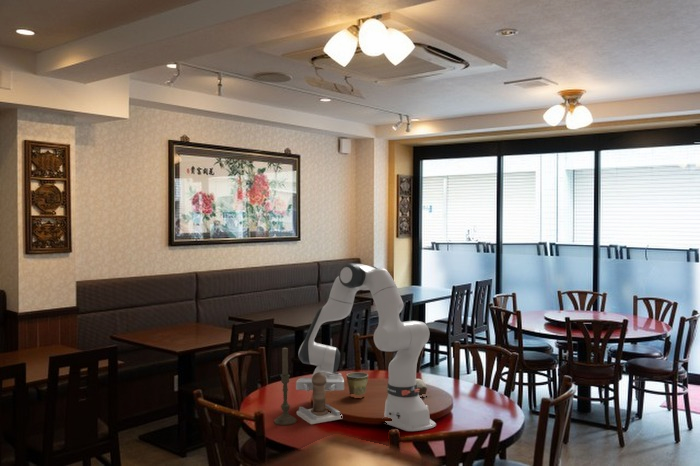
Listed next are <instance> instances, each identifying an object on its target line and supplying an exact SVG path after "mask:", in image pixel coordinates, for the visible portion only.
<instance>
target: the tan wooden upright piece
mask: <svg viewBox="0 0 700 466" xmlns="http://www.w3.org/2000/svg"><path fill="white" fill-rule="evenodd" d="M312 376H313V377H312ZM312 376H311V378H312V383H313V390H312V408H313V409H312V408H311V409H312V410H311V412H312V413H313V414H315V415H316V416H322V415H326V414H328V410H327V409H325V403H326V391H325V384H326V376H325V375H324V374H323V373H316V374H314V375H313V374H312Z"/></svg>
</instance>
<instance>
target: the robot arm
mask: <svg viewBox="0 0 700 466" xmlns="http://www.w3.org/2000/svg"><path fill="white" fill-rule="evenodd" d="M358 291H363V292H365V291H366V292H367V291H370V294H371V296H372V300H373V302H374V305H375V307H376V311H377V314H378V315H377V316H378V325H377V327H376V328H375V330H374V333H373V343H374V345H375V347H376V348H377V349H378V350H379V351H382V352H396V351H397V352H396V354H395V356H394V357H393V358H392V360H391V361H390V362H389V364H388V382H387V387H386V390H387V397H386V399H385V403H384V415H383V418H384V417H388V418H391V419H392V421H385V422H386V423H387V424H386V423H385V424H386V425H389V426H392V427H395V428H397V429H400V430H403V431H405V432H418V431H419V432H420V431H426V430H429V429H433V428H434V427H436V426H437V423H436V422H435V421H434V420H432V419H431V418H430V410H429V409H430V408H429V405H428V404H425V402H424V401H423V398H422V397H421V398H420V396H419V392H420V391H418V390H420V389H418V386H417V384H416V379H417V364H418V360H419V357H420V354H421V352H422V350H423V348H424V346H426V344H427V343H429V342H428V341H429V339H430V335H431V334H430V329H429V327H428V325H427V324H426V323H425V322H423V321H419V320H407V321H402V320H401V319H400V318H401V317H400V313H402V311H403V309H404V306H405V305H404V301H403V299H402V296H401V293H400V291H399V289H398V286H397V284H396V282H395V280H394V279H393V276H392V275H391V274H390V272H389V271H388V270H387V269H386V268H383V267H379V268H377V267H376V266H374V265H372V266H371V265H367V264H362V263H354V262H353V263H352V262H351V263H346V264H344V265H343V266H342V267H341V268H340V270H339V272H338V276H337V277H336V278H335V279H334V281H333V284H332V286H331V289H330V293H329V296H328V299H327V302H326V303H325V304H324V306H320V307H319V308H318V310H317V311H316V313H315V316H314V317H313V319H312V322H311V324H310V326H309V329H308V332H307V334H306V335H305V339H304V340H303V342H302V343H301V345H300V346H299V349H298V353H297V354H298V359H299V361H301V363H302V364H305V365H312V366H316V368H315V369H314V370H313V373H312V375H311V377H300V378H298V379H297V380H296V381H295V390H297V391H305V392H310V391H313V383H312V377H313V375H314V374H316V373H323V374H324V375H325V376H326V384H325V392H326V391H328V392H333V391H344V390H345V379H344V377H343V375H342V373H340V372H337V371H338V369H339V367H340V361H341V352H340V350H339V349H338V347H335V346H332V345H328V344H324V343H323V344H322V343H319V342H316V341H315V338H316V337H317V334H318V332H319V329H320V327H321V326H322V325H323V324H324V323H327V322H334V321H340V320H343V319H345V318H347V317H348V316H350V314H351V311H352V309H353V306H354V301H355V297H356V294H357V292H358Z"/></svg>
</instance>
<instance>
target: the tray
mask: <svg viewBox="0 0 700 466" xmlns="http://www.w3.org/2000/svg"><path fill="white" fill-rule="evenodd" d="M325 407H326V408H327V409H329V411H331V413H330V412H328V414H326V415H322V416H316V415H315V414H313V413H312V412H311V410H312V409H313V407H312V408H305V407H304V406H299V407H298V410H297V411H296V415H297V416H298V417H299V418H301V419H302V420H304V421H306V422H307V423H308V424H310V425H315V424H320V423H327V422H332V421H338V420H343V414H341V411H339V410H338V409H336V408H334V406H331V405H330V404H328V403H326V402H325ZM340 414H341V415H340ZM341 416H342V418H341Z"/></svg>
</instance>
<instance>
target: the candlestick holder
mask: <svg viewBox="0 0 700 466" xmlns="http://www.w3.org/2000/svg"><path fill="white" fill-rule="evenodd" d="M281 350H282V351H281V353H282V354H281V356H282V359H281V361H282V364H281V365H282V367H281V368H282V371H281V372H282V374H280V378H281V380H280V382H281V384H282V392H283V393H282V394H283V397H282V398H283V403H282V404H281V405H280V408H281V410H282V413H281V415H278V416H277V417H276V418H275V419H274V420H273V423H274V424H276V425H279V426H290V425H294V424H296V423H297V422H298V419H297V418H296V417H295V416H293V415H291V414H289V410H290V407H291V405H290V404H289V403H288V391H289V388H288V387H289V386H288V384H289V382H290V377H291V375H290V374H289V372H288V371H289V362H288V361H289V358H288V357H289V356H288V354H289V353H288V352H289V351H288V347H282V348H281Z"/></svg>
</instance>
